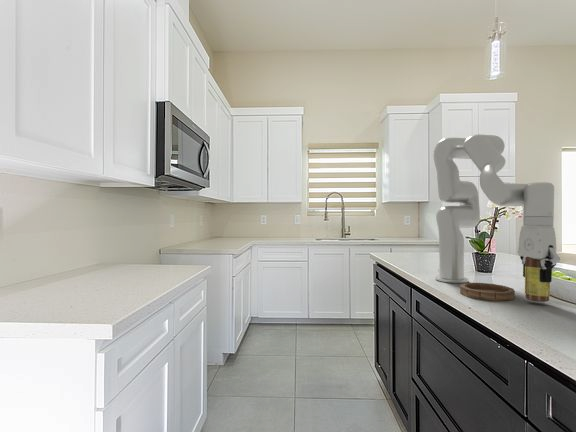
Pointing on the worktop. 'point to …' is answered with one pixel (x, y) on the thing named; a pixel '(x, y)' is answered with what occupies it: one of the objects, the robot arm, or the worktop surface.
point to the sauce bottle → (535, 281)
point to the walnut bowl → (487, 291)
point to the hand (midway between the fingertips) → (536, 278)
